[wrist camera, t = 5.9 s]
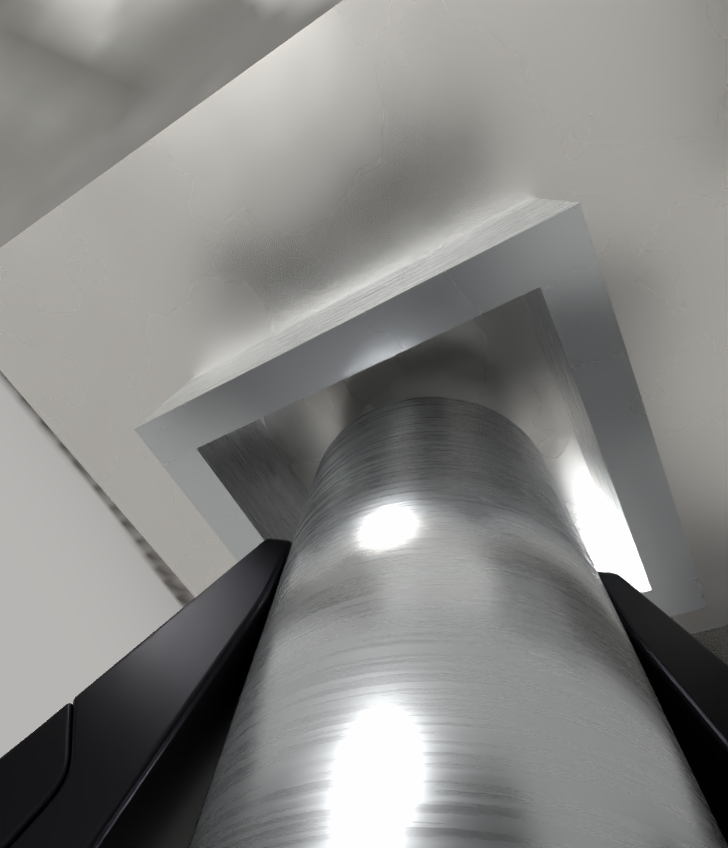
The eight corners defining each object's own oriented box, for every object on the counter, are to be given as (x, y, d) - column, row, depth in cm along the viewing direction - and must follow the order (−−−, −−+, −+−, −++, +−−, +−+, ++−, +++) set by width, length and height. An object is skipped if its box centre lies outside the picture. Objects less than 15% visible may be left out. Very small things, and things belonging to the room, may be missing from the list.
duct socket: (847, 573, 12) (980, 691, 9) (310, 710, 17) (289, 819, 14) (717, -252, 7) (952, -587, 4) (-42, 289, 11) (-201, 325, 8)
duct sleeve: (578, 407, 8) (1376, 1477, 1) (525, 603, 10) (747, 1432, 3) (313, 386, 9) (-91, 1193, 2) (313, 580, 11) (129, 1305, 4)
